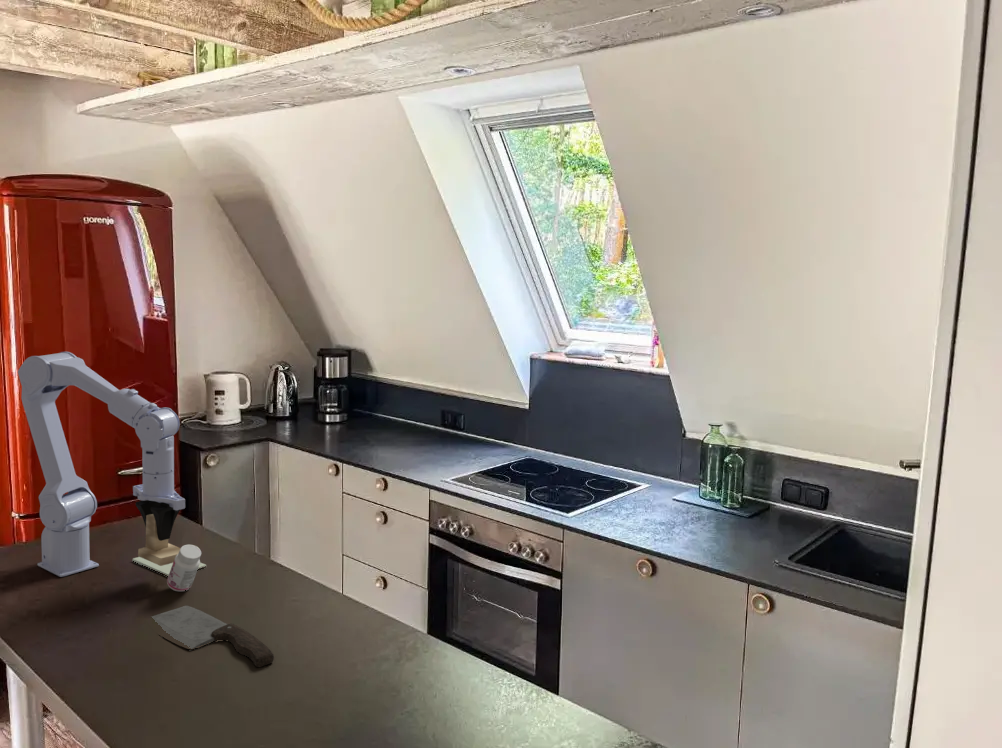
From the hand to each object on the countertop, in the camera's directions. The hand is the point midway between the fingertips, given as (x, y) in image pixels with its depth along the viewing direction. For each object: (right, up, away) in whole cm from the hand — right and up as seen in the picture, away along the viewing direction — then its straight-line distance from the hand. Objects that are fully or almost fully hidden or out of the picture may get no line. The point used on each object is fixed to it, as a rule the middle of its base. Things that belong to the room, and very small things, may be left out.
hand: (158, 537), depth 163 cm
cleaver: (+18, -14, -22) cm, 31 cm away
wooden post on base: (+1, -4, -1) cm, 4 cm away
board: (-2, -8, +9) cm, 12 cm away
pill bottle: (+5, -9, -3) cm, 10 cm away
